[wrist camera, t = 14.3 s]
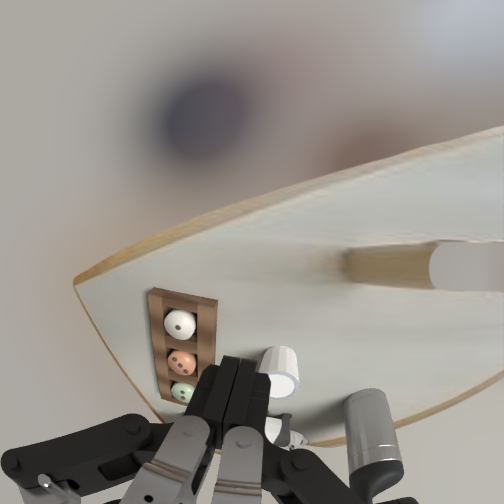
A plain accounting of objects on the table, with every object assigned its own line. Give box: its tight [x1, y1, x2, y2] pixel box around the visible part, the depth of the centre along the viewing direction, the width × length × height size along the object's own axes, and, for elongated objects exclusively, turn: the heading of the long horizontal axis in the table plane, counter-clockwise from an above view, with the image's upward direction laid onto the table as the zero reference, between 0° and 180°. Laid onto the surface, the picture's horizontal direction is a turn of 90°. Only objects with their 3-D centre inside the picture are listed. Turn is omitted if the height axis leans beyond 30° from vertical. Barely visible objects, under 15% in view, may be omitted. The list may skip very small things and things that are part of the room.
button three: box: [168, 349, 198, 375], centre depth 45 cm, size 5×5×2 cm
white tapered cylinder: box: [259, 346, 300, 400], centre depth 41 cm, size 7×7×7 cm
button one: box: [164, 308, 197, 340], centre depth 43 cm, size 5×5×2 cm
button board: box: [148, 287, 218, 406], centre depth 46 cm, size 26×11×2 cm, turn 174°
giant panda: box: [265, 411, 309, 450], centre depth 46 cm, size 12×5×8 cm, turn 77°
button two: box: [171, 381, 196, 403], centre depth 48 cm, size 5×5×2 cm
